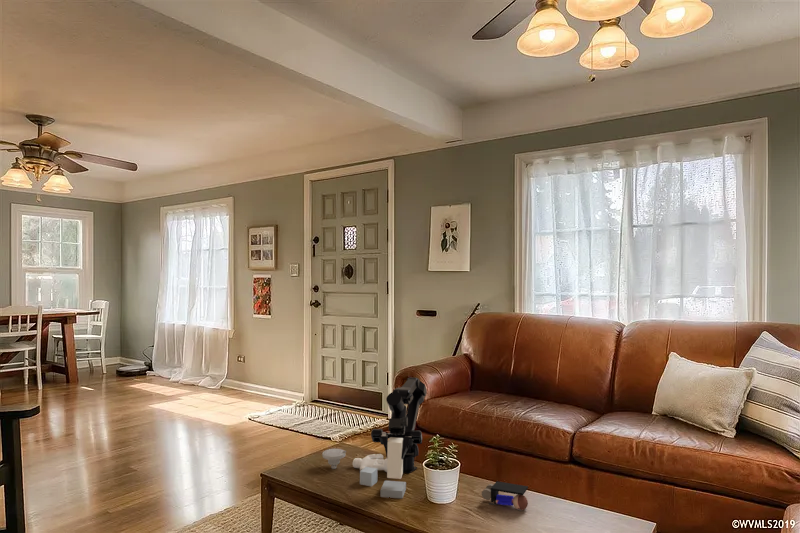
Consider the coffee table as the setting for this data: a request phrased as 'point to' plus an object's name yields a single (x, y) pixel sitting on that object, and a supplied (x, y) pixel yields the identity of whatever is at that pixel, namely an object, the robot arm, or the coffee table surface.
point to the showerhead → (333, 456)
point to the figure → (371, 462)
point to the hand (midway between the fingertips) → (394, 458)
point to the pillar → (394, 458)
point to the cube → (368, 476)
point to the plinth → (393, 489)
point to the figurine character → (517, 501)
